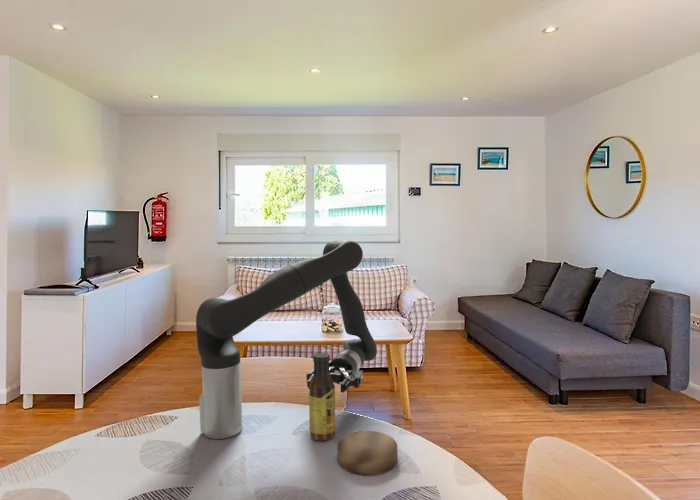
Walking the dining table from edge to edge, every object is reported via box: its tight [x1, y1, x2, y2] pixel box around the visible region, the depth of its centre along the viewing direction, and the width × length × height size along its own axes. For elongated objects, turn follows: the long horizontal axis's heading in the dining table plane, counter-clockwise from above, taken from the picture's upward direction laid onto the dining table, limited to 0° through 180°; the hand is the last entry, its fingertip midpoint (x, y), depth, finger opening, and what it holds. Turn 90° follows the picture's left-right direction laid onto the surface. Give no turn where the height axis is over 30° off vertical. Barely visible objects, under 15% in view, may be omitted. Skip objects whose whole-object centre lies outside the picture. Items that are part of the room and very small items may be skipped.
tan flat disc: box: [337, 430, 398, 477], centre depth 94 cm, size 13×13×3 cm
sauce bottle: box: [308, 352, 336, 442], centre depth 104 cm, size 7×6×20 cm
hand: (325, 387), depth 106 cm, fingers open, 8 cm apart
